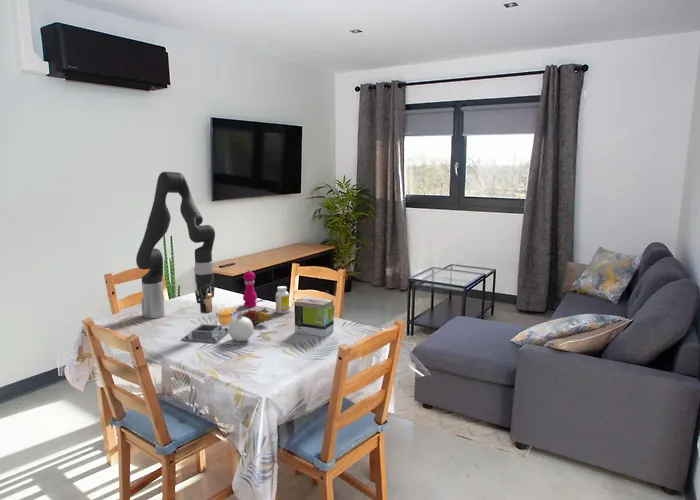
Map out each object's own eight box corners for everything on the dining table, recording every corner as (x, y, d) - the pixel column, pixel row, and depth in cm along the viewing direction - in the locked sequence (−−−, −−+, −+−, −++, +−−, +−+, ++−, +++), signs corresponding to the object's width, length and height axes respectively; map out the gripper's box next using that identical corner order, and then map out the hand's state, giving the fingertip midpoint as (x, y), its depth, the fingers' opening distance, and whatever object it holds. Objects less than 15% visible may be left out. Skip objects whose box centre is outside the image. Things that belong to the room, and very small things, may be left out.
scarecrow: (240, 330, 224) (239, 314, 222) (237, 319, 239) (236, 303, 237) (277, 326, 229) (277, 310, 227) (272, 316, 244) (272, 300, 242)
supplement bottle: (291, 310, 253) (291, 286, 251) (285, 314, 247) (285, 289, 245) (279, 309, 255) (279, 285, 253) (273, 312, 249) (273, 288, 247)
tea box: (334, 330, 223) (334, 299, 221) (323, 338, 214) (323, 305, 212) (305, 326, 230) (304, 295, 227) (294, 332, 221) (293, 300, 218)
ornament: (232, 346, 204) (231, 318, 202) (226, 338, 213) (225, 311, 211) (256, 342, 209) (255, 315, 207) (249, 334, 218) (248, 308, 216)
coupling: (181, 340, 211) (180, 333, 210) (198, 328, 226) (198, 321, 226) (216, 343, 208) (216, 335, 207) (231, 330, 223) (231, 323, 223)
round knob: (197, 313, 213) (196, 295, 211) (203, 309, 218) (202, 292, 217) (209, 314, 212) (208, 296, 211) (215, 310, 217) (214, 292, 216)
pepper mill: (255, 307, 258) (254, 270, 254) (241, 307, 258) (240, 270, 254) (258, 303, 265) (257, 267, 261) (245, 303, 265) (243, 267, 261)
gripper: (203, 267, 220) (205, 304, 223) (187, 275, 206) (190, 314, 209) (219, 268, 218) (221, 305, 221) (204, 275, 204) (206, 315, 207)
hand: (206, 309), depth 215 cm, fingers closed on round knob, 5 cm apart
